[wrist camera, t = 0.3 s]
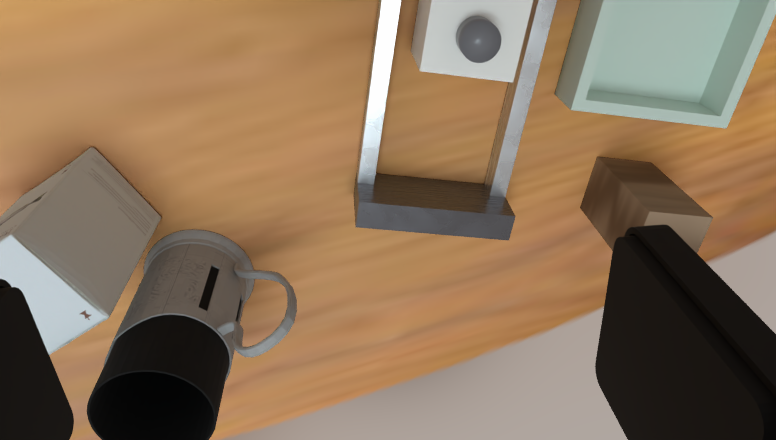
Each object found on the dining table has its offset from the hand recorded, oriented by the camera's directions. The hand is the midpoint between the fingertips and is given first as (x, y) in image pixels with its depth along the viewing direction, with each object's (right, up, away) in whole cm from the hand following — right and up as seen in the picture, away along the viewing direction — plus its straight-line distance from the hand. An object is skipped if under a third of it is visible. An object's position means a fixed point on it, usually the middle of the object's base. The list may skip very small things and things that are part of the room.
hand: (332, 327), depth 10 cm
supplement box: (-21, +3, +36) cm, 42 cm away
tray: (+20, +15, +33) cm, 41 cm away
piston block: (+6, +15, +31) cm, 35 cm away
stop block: (+19, +4, +39) cm, 43 cm away
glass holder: (-12, -2, +40) cm, 41 cm away
